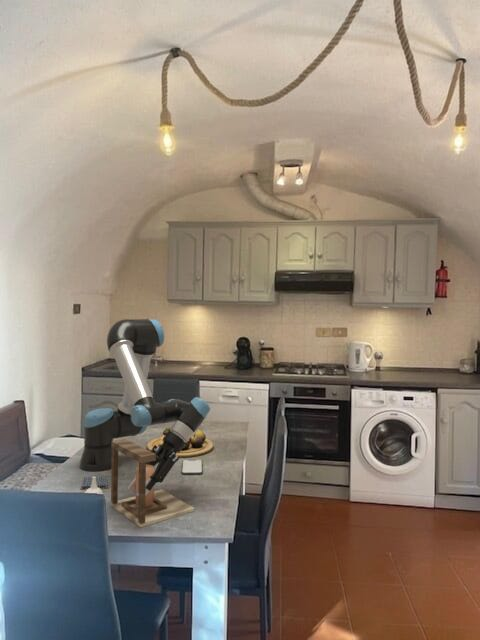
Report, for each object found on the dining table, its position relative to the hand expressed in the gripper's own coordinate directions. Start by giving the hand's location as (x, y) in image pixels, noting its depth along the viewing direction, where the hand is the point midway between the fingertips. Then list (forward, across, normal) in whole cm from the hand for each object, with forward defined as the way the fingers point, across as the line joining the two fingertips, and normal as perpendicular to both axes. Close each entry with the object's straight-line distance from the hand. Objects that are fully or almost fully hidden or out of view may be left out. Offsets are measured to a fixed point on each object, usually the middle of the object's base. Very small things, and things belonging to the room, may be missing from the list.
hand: (134, 494), depth 163 cm
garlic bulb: (+9, +20, -1) cm, 22 cm away
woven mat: (+4, +32, -5) cm, 33 cm away
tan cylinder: (0, 0, -5) cm, 5 cm away
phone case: (-24, +26, -33) cm, 48 cm away
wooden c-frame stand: (0, 0, -9) cm, 9 cm away
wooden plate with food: (-32, +54, -42) cm, 75 cm away
